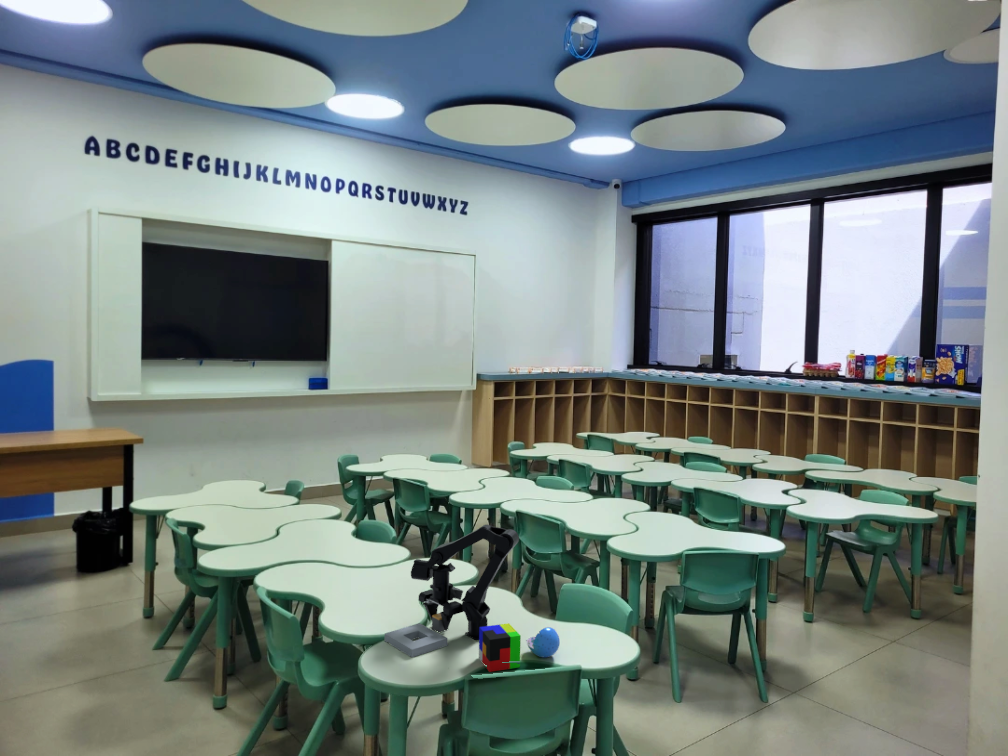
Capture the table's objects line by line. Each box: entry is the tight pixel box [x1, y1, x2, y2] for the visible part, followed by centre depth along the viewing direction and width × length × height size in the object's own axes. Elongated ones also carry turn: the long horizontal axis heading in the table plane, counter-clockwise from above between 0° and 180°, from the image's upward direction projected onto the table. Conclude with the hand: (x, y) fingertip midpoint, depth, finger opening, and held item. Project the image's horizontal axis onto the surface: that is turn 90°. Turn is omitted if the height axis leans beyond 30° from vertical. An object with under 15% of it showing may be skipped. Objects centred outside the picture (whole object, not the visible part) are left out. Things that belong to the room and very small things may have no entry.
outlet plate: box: [383, 622, 448, 658], centre depth 232 cm, size 16×14×2 cm
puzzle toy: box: [478, 622, 522, 673], centre depth 219 cm, size 10×10×10 cm
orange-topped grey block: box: [431, 612, 445, 633], centre depth 243 cm, size 4×4×5 cm
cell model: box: [525, 626, 560, 658], centre depth 225 cm, size 10×12×10 cm
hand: (440, 626), depth 244 cm, fingers open, 6 cm apart
